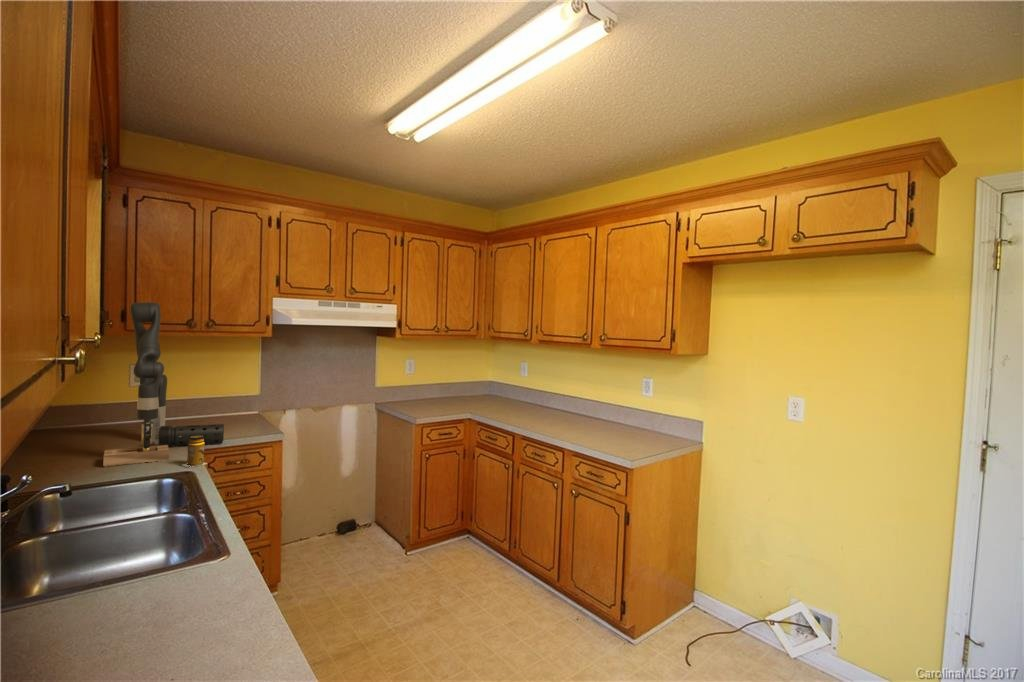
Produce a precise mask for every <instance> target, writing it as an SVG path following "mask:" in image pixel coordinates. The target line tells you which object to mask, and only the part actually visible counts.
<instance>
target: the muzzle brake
mask: <svg viewBox="0 0 1024 682" xmlns="http://www.w3.org/2000/svg"><path fill="white" fill-rule="evenodd" d="M224 433H225V424H224V423H215V424H195V425H194V424H193V425H191V424H190V425H176V426H172V425H165V426H161V427H158V428H156V429H155V438H154V446H159V445H168V447H169V446H170V447H171V448H173V447H172V446H178V447H180V446H182V445H183V446H185V445H187V446H188V443H189V438H190V437H191V436H198V435H200V436H204V443H205V445H217V444H218V445H219V444H223V442H224Z"/></svg>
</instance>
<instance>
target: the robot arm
mask: <svg viewBox="0 0 1024 682" xmlns="http://www.w3.org/2000/svg"><path fill="white" fill-rule="evenodd" d="M130 316H131V320H132V325H133V331H134V336H135V337H134V338H135V349H136V356H137V360H136V363H135V365H134V367H133V374H134V376H135V377H136V378H137V379H139V385H138V392H137V397H138V398H137V404H136V405H137V406H136V419H138V420H140V421H141V420H142V422H141V435H142V434H144V437H143V439H144V448H150V439H151V433H152V443H153V442H154V443H155V441H154V438H155V429H156V428H158V427H161V426H166V413H167V412H166V407H167V405H166V401H167V390H168V389H167V388H168V377H167V375H166V374H164V371H165V366H164V364H163V363H162V362H161V361H158V360H159V359H160V358H161V354H162V353H161V344H160V341H159V336H160V328H161V319H162V309H161V307H160V304H159V303H158V302H151V301H150V302H133V303H131V305H130ZM144 323H151V325H150V327H148V329H147V328H146V327H145V326H144ZM146 434H149V436H145V435H146Z"/></svg>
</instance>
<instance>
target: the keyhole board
mask: <svg viewBox="0 0 1024 682" xmlns="http://www.w3.org/2000/svg"><path fill="white" fill-rule="evenodd" d="M169 448H170V447H169V446H168V445H152V446H150V451H144V452H143V447H141V446H139V447H137V446H136V447H126V448H116V449H115V448H114V449H105V450H104V453H103V465H102V467H103V466H107V465H116V464H125V463H138V462H151V461H162V462H164V461H163V460H169V461H170V449H169Z"/></svg>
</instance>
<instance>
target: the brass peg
mask: <svg viewBox="0 0 1024 682" xmlns="http://www.w3.org/2000/svg"><path fill="white" fill-rule="evenodd" d="M145 436H149V434H146V435H145ZM143 437H144V434H142V433H141V442H140V443H141V445H140V447H143V452H144V451H150V448H144V439H143ZM152 444H153V442H152V433H151V439H150V446H153V445H152Z"/></svg>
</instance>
